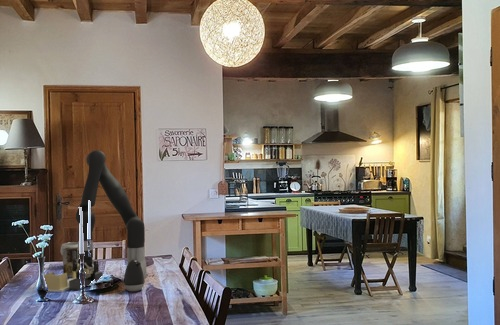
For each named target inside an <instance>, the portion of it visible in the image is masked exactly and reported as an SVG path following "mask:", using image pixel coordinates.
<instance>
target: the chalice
mask: <svg viewBox="0 0 500 325" xmlns="http://www.w3.org/2000/svg"><path fill="white" fill-rule="evenodd" d="M68 247H78V241H77V242H76V241H75V242H74V241H71V242H64V243H62V244H61V247H60V254H61V256H63V249H65V248H68Z"/></svg>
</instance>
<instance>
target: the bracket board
mask: <svg viewBox="0 0 500 325" xmlns="http://www.w3.org/2000/svg"><path fill="white" fill-rule="evenodd" d="M92 265H93V264H92ZM78 266H79V264H78ZM78 266H77V267H78ZM93 266H94V265H93ZM84 270H85V272H86V275H87V274H89V270H88V269H85V268H84ZM90 273H91V272H90ZM44 278H45V281H46V284H47V287H48V291H47V292H51V293H54V292H55V293H57V292H59V293H62V292H65V291H68V290H69V281H70V280H73V279H76V272H75V271H73V277H69V279H68V277H67V273H62V274H55V272H54V271H53V272H49V273H46V274H44V275H43V279H44Z"/></svg>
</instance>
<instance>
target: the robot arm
mask: <svg viewBox="0 0 500 325" xmlns="http://www.w3.org/2000/svg"><path fill="white" fill-rule="evenodd" d="M106 158H107V157H106V154H105V153H104V152H103V151H102V150H99V149H97V150H96V149H95V150H92V151H91V152H89V153H88V154H87V156H86V160H85V161H86V164H87V166H88V172H87V173H88V174H87V177H86V181H85V184H84V188H83V191H82V196H81V202H80V204H79V205H78V208H77V209H76V210H77V211H76V213H75V218H76V219H75V221H76V222H77V223H78V224H80V215H79V207H82V211H83V224H82V227H83V233H84V252H85V256H84V268H85V269H88V270H89V271H90V272H91V281H93V280H94V279H95V273H96V272H100V271H99V269H100V268H99V267H100V266H99V260H94V259H93V257H94V241H93V231H94V227H95V224H96V215H95V213H94V211H91V244H90V253H91V257H88V247H87V223H88V200H90V201H91V208H92V207H94V206H95V204H96V200H97V195H98V188H99V185H101V187H102V189H103V191H104V194H106V196H107V198H108V200H109V202H110V203H111V205H112V206H113V208H114V209H115V210H116V212H118V214H119V215H120V217H121V218H122V221H123V223H124V225H125V228H126V231H127V234H126V235H127V238H126V239H127V240H126V242H127V243H126V254H127V255H126V257H127V258H126V260H127V261H126V262H127V265H128V263H129V262H130V261H131V260H137V261H138V262H140V263H141V264H140V265H141V267H142V270H143V273H144V279H147V260H146V259H145V242H146V238H145V237H146V236H145V235H146V234H145V231H146V230H145V223H144V221H143V220H142V219H141V218H140V216H138V215H137V213H136V212H135V210H134V209H133V206H132V205H131V202H130V199H129V198H128V195H127V193H126V191H125V189H124V188H123V186H122V185H121V183H120V181H119V180H118V179H117V178H116V177H115V176H114V175H113V173H111V172H110V170H109V168H108V167H107V164H106V160H107V159H106ZM77 236H78V241H77V242H78V254H79V232H78V233H77ZM78 258H79V255H78ZM78 263H79V266H78ZM92 264H93V265H92ZM127 265H126V266H127ZM77 266H78V267H77ZM90 267H91V268H90ZM79 270H80V259H78V260H77V259H76V260H73V271H75V272H76V278H78V277H79Z"/></svg>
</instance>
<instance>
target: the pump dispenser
mask: <svg viewBox="0 0 500 325" xmlns="http://www.w3.org/2000/svg"><path fill="white" fill-rule="evenodd" d="M140 264H141V263H140V262H138V261H137V260H131V261H130V262H129V263H128V265H126V268H125V271H124V275H123V285H124V288H125V290H127V291H128V292H132V293H134V292H139V291H140V290H142V289H143V288H144V285H145V282H146V281H145V280H146V278H144V273H143V270H142V267H141V265H140Z"/></svg>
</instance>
